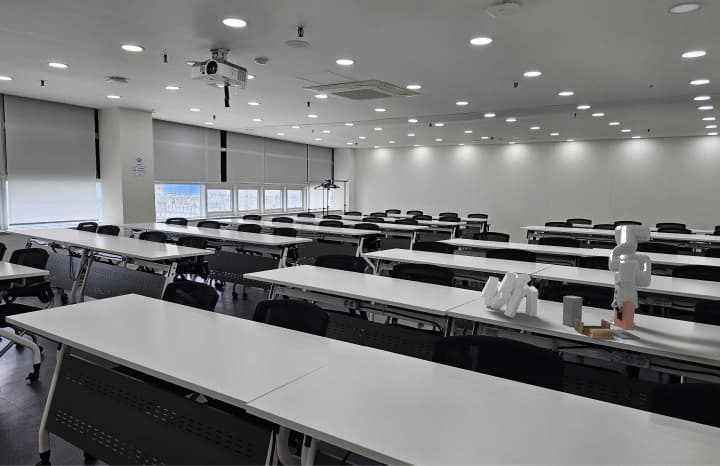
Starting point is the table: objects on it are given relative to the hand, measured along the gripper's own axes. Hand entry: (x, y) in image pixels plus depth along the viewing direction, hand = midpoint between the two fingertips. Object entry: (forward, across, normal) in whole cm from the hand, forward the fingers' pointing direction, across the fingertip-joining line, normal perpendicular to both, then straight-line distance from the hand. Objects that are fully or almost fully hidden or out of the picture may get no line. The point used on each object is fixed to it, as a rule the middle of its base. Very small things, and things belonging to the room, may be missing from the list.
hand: (623, 319), depth 231 cm
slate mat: (+8, 0, 0) cm, 8 cm away
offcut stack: (+8, -14, -4) cm, 17 cm away
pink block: (+4, 0, 0) cm, 4 cm away
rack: (+8, -14, +4) cm, 17 cm away
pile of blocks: (+8, -46, +41) cm, 62 cm away
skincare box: (+8, -18, +18) cm, 27 cm away
